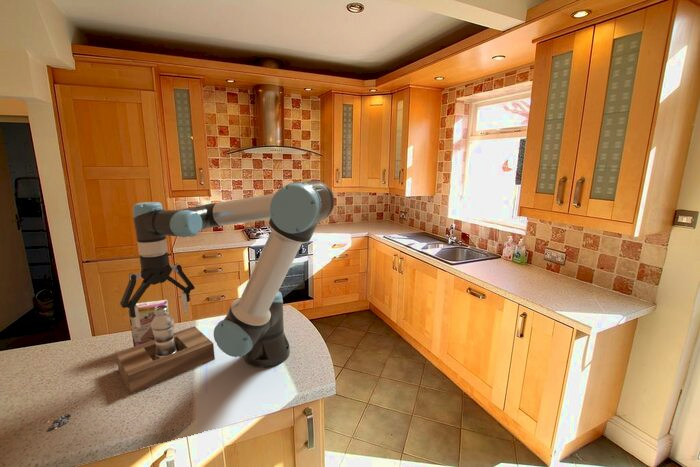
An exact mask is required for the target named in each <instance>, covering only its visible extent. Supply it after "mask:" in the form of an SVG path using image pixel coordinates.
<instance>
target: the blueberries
mask: <svg viewBox="0 0 700 467" xmlns="http://www.w3.org/2000/svg"><path fill="white" fill-rule="evenodd" d="M70 418H71V414H70V413H66V414H64V415H61V416H59V417H58V418H57V419H55V418H53V420H52V421H53V422H52V425H51V426H49V427H48V428H47V429H46V431H45V433H48V432H55V431H56V430H58V429H60V428H63V427H65V425H67V424H68V423H69V420H70ZM47 423H50V420H48V421H47Z"/></svg>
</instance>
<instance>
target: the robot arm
mask: <svg viewBox="0 0 700 467" xmlns="http://www.w3.org/2000/svg"><path fill="white" fill-rule="evenodd" d="M334 207H335V197H334V193H333V190H332V189H331V188H330V186H328V185H327V184H325V183H324V182H322V181H319V180H307V181H296V182H295V181H294V182H291V183H289V184H286V185H284V186H282V187H281V188H279V189H278V190H277V191H276V192H275V193H271V194H270V193H269V194H264V195H258V196H251V197H246V198H239V199H233V200H227V201H221V202H214V203H213V202H212V203H211V202H210V203H206V204H202V205H197V206H192V207H186V208H181V209H164V208H163V205H162V203H161V202H158V201H145V202H137V203H135V204H133V206H132V220H133V223H134V229H135V230H134V231H135V236H136V241H137V250H138V254H139V263H140V269H141V270H140V272H137V273H133V272H130V273H129V274H128V278H129V279H128V282H127V286H126V288H125V290H124V293H123V295H122V298H121V301H120V303H119V305H120V307H122V308H123V309H125V308H128V314H129V313H130V316H131V317H132V318H135V324H136V326H137V327H138V328H140V327H141V325H140V318H139V312H138V307H137V306H136V303H139V301H140V299H141V298H142V297H143V295H144V293H145V292H146V291H147V289H148V288H149V287H150V286H151V285H157V284H163V283H165V282H167V281H168V282H170V283H172V284H173V285H174V286H176V287H177V288H178V289H180V290H181V292H180V298H181V304H182V312H184V313H185V314H188V313H189V307H188V302H190V301H191V298H190V293H191V291H194V290H195V285H194V284H193V283H192V281H191V280H190V279H189V278H188V276H187V275H186V274H185V273H184V271H183V268H182V265H180V264H179V263H175V264H174V265H170V264H171V263H170V257H169V253H168V250H169V249H168V243H167V236H168V237H182V238H187V237H190V238H192V237H195V236H197V235H198V234H199V233H200V232H201V231H203V230H207V229H209V228H216V227H217V228H218V227H223V226H229V225H237V224H245V223H253V222H254V223H255V222H261V221H267V220H268V226H269V227H270V230H271V231H270V234H269V235H268V238H267V239H266V242H265V243H264V246H263V248H262V250H261V253H260V255H259V257H258V259H257V261H256V263H255V265H254V268H253V270H252V272H251V274H250V277H249V279H248V281H247V283H246V285H245V288H244V290H243V292H242V294H241V296H240V297H237V298H235V299H234V300H233V301H232V303H231V304H230V307H229V309H228V312H227V314H226V316H225V317H224V318H223V319H222V320H219V322H218V323H217V324H216V326H214V329H213V339H214V341H215V343H216V346H217V347H218V348H219V349H220V351H221V352H222V353H224V354H226V355H228V356H229V357H234V358H241V357H244V361H245V363H246V364H248V365H250V366H252V367H256V368H269V367H273V366H276V365H277V366H278V365H279V364H281V363H283V362H284V361H286V360H287V359H288V357H289V356H290V353H291V348H290V343H289V340H288V337H287V336H286V333H285V330H284V329H285V328H284V327H285V326H284V305H283V304H284V300H283V295H282V292H281V291H280V288H281V287H282V285H283V283H284V280H285V278H286V276H287V274H288V272H289V270H290V268H291V265H292V264H293V262H294V260H295V258H296V257H297V254H298V252H299V250H300V249H301V246H302V245H303V244H307V243H309V242H310V240H311V238H312V237H313V235H314V233H315V232H316V229H317V228H318V225H319V224H320V223H321V222H322V221H324V220H325V219H328V217H329V216H330V215H331V214H332V212H333V210H334ZM172 272H175V273H177V275H178V276H179V277H180V278H181V280H182V281H183V282H184V284H186V287H185V286H184V285H183V284H181V283H180V282H178V281H177V280H175V278H173V277H171V273H172ZM140 278H142V279H143V280H142V281H141V283H140V286H138V288H137V289H136V291H135V292H134V290H135V287H136V284H137V282H138V281H139V279H140ZM133 292H134V294H133ZM130 316H129V317H130Z"/></svg>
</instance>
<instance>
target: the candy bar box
mask: <svg viewBox="0 0 700 467" xmlns="http://www.w3.org/2000/svg"><path fill="white" fill-rule="evenodd" d="M160 305H166V306H167V307H168V308H169V302H168V299H161V300H154V301H146V302H145V301H144V302H137V303H136V306H137V307H138V312H139V318H140V325H141V327H140V328H138V327H137V326H136V324H135V318H132V317H131V316H130V313H129V312H128V315H129V322H130V329H131V337H132V344H133V347H134V346H137V345H140V344H143V343H146V342H149V341H152V340H155V338H154V334H153V331H152V327H151V323H152V321H153V319H154V317H155V316H156V315H155V314H154V312H155V311H154V308H155V307H157V306H160ZM168 314H169V315H170V312H169V310H168Z"/></svg>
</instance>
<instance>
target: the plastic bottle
mask: <svg viewBox="0 0 700 467" xmlns="http://www.w3.org/2000/svg"><path fill="white" fill-rule="evenodd" d="M154 311H155V312H154V314H155V315H156V316H155V317H154V319H153V321H152V323H151V327H152V331H153V334H154V338H155V343H156V354H155V360H157V359H159V358H162V357H165V356H167V355H170V354H173V353H175V352H177V350H176V347H175V342H174V333H175V319H174V317H173V316H172V315H171V314H170V313H169V314H168V311H169V306H168V307H167V306H166V305H160V306H157V307H155V308H154Z"/></svg>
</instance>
